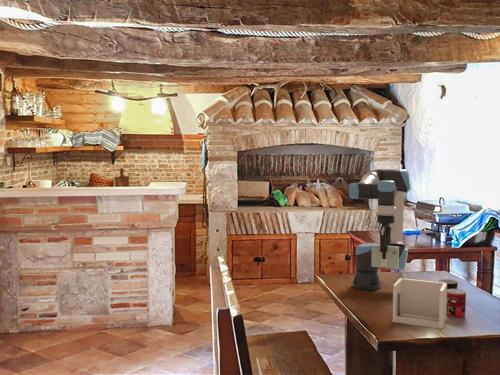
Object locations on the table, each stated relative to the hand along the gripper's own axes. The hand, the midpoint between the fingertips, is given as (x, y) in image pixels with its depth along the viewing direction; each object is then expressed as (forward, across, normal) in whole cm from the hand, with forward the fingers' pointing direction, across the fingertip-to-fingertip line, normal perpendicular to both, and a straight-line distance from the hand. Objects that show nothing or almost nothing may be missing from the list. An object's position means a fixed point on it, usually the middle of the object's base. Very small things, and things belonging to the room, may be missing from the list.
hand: (385, 265), depth 241 cm
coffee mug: (+21, +28, -24) cm, 42 cm away
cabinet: (+21, -9, -17) cm, 28 cm away
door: (+1, 0, 0) cm, 1 cm away
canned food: (+21, +6, -30) cm, 37 cm away
